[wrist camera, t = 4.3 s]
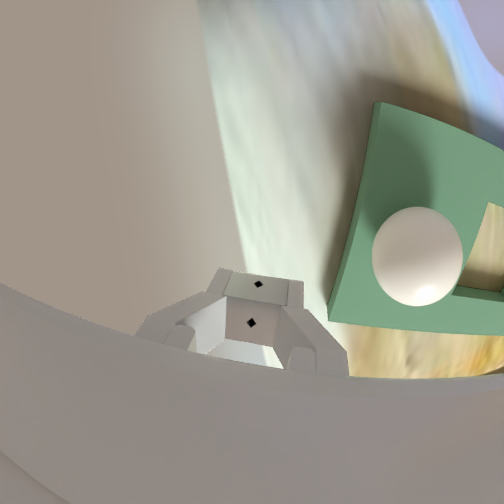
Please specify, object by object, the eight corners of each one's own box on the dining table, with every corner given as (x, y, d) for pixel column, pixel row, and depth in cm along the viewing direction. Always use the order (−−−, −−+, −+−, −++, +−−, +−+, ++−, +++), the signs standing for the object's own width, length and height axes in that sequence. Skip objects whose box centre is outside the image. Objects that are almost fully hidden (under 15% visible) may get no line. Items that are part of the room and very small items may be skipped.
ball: (375, 185, 14) (405, 219, 9) (449, 204, 13) (494, 243, 9) (353, 265, 16) (368, 322, 12) (423, 277, 16) (451, 330, 11)
